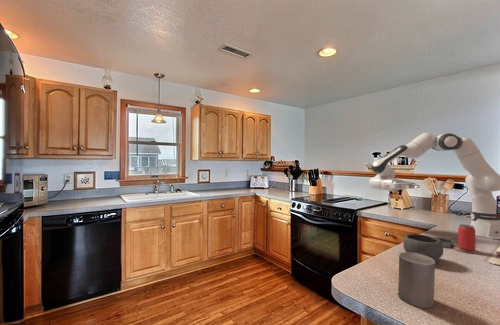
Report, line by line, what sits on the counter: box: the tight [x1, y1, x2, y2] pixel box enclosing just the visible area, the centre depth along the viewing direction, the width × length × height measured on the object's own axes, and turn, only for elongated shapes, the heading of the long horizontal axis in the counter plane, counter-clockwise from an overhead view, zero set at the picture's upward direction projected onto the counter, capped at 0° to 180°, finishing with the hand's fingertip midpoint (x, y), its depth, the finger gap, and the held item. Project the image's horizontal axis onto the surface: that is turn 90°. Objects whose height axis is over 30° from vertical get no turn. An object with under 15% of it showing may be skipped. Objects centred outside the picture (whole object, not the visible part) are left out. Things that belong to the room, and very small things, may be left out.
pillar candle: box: [397, 251, 436, 309], centre depth 78 cm, size 10×10×15 cm
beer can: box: [457, 223, 476, 251], centre depth 122 cm, size 7×7×12 cm
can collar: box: [432, 236, 455, 249], centre depth 131 cm, size 10×10×2 cm
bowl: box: [402, 233, 444, 262], centre depth 111 cm, size 15×15×10 cm
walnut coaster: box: [452, 245, 478, 255], centre depth 123 cm, size 9×9×1 cm
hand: (414, 186), depth 148 cm, fingers open, 8 cm apart
